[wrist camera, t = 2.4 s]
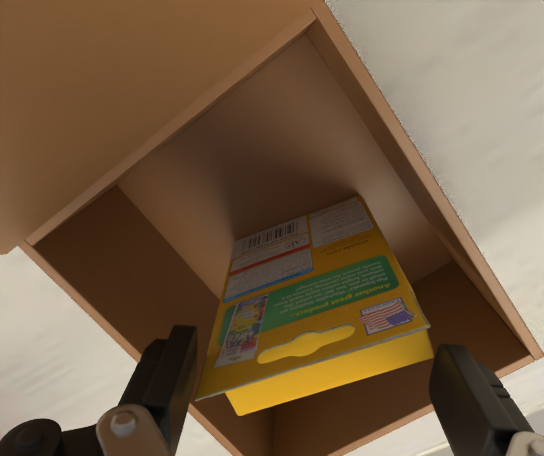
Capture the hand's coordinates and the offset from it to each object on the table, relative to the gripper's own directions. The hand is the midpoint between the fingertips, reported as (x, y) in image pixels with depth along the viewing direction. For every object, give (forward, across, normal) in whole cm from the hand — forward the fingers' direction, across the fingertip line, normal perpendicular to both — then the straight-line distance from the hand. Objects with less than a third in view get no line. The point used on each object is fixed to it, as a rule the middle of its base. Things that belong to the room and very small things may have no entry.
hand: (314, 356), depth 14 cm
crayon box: (+10, 0, 0) cm, 10 cm away
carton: (+10, +1, -1) cm, 10 cm away
